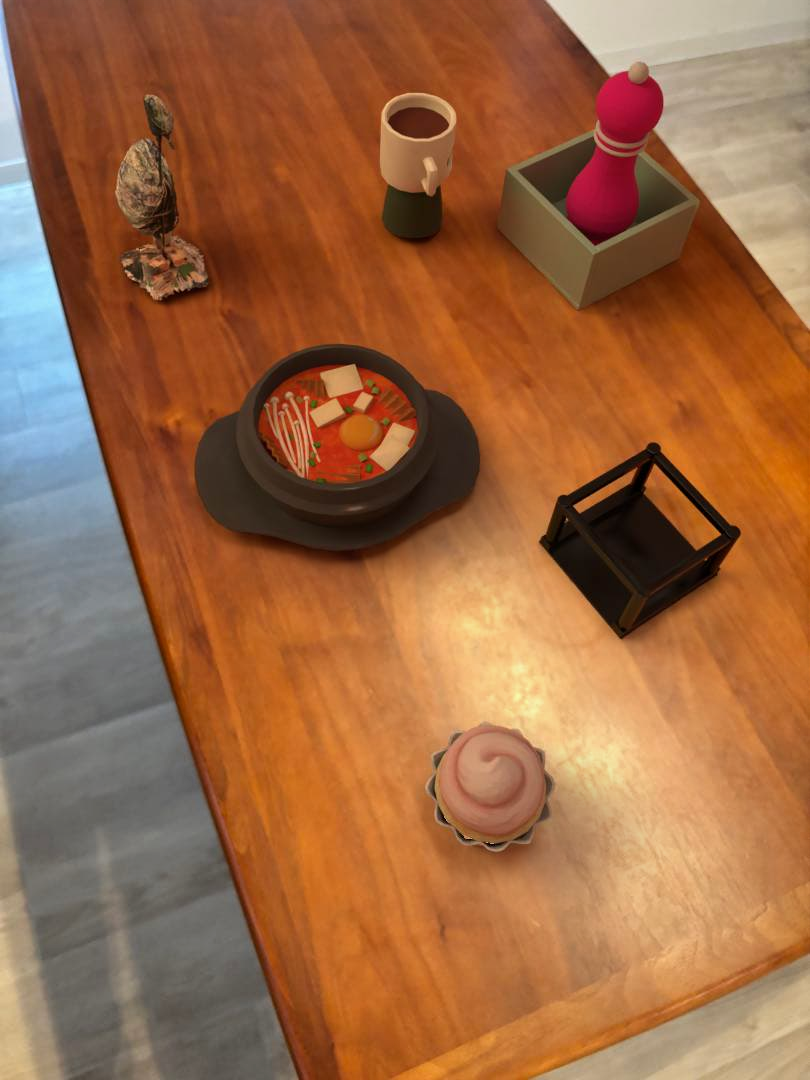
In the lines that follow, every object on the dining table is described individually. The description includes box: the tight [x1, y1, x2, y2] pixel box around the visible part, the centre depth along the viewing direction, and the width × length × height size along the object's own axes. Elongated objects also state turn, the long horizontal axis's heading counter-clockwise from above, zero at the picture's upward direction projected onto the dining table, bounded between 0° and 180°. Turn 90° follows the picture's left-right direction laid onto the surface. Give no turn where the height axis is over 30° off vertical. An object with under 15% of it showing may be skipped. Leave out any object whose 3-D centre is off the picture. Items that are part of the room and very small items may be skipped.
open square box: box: [496, 128, 701, 311], centre depth 102 cm, size 14×14×8 cm
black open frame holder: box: [538, 441, 742, 640], centre depth 84 cm, size 11×11×8 cm
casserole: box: [194, 343, 481, 552], centre depth 86 cm, size 25×19×8 cm
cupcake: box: [424, 720, 556, 853], centre depth 71 cm, size 9×9×10 cm
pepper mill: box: [566, 61, 665, 246], centre depth 96 cm, size 7×7×20 cm
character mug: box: [379, 92, 457, 239], centre depth 100 cm, size 11×7×13 cm, turn 16°
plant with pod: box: [114, 94, 211, 301], centre depth 92 cm, size 8×11×20 cm
